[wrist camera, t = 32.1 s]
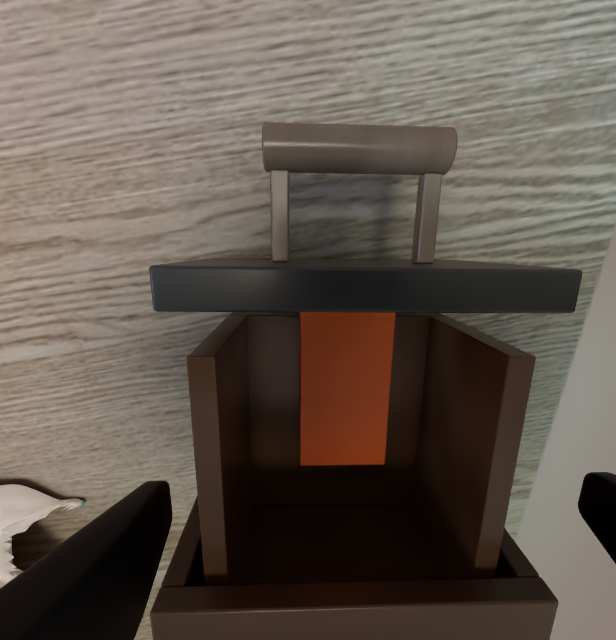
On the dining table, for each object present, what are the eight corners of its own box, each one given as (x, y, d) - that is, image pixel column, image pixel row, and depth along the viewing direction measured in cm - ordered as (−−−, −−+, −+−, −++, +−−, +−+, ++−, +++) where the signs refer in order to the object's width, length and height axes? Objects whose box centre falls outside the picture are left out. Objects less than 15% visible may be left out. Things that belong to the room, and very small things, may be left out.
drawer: (210, 156, 13) (127, 68, 7) (468, 162, 14) (624, 84, 7) (229, 502, 17) (187, 657, 11) (428, 498, 18) (506, 645, 11)
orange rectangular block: (379, 291, 14) (397, 300, 12) (371, 431, 16) (385, 465, 13) (299, 291, 14) (300, 300, 11) (299, 431, 15) (299, 466, 13)
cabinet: (219, 439, 18) (148, 613, 9) (438, 437, 18) (560, 601, 10) (230, 632, 21) (186, 890, 12) (415, 626, 21) (492, 872, 13)
